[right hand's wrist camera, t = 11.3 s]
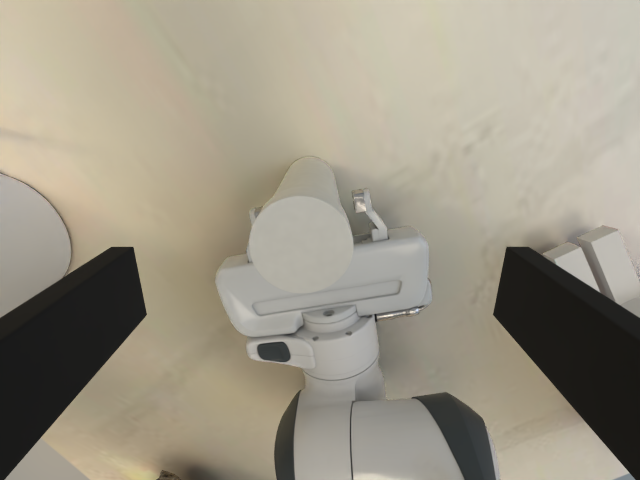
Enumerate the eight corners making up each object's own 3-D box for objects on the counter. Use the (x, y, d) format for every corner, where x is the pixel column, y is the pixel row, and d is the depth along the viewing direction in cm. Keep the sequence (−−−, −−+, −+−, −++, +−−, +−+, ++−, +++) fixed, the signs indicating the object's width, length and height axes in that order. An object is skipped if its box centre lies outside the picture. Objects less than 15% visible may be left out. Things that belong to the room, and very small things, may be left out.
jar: (275, 174, 37) (235, 231, 19) (317, 146, 36) (315, 179, 18) (303, 215, 38) (289, 301, 21) (344, 189, 37) (366, 257, 20)
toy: (695, 225, 28) (790, 492, 33) (585, 203, 41) (666, 398, 46) (549, 289, 30) (660, 532, 36) (489, 250, 43) (575, 431, 49)
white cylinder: (237, 219, 21) (227, 232, 19) (316, 167, 20) (316, 174, 18) (291, 290, 23) (287, 310, 20) (367, 246, 22) (372, 261, 19)
